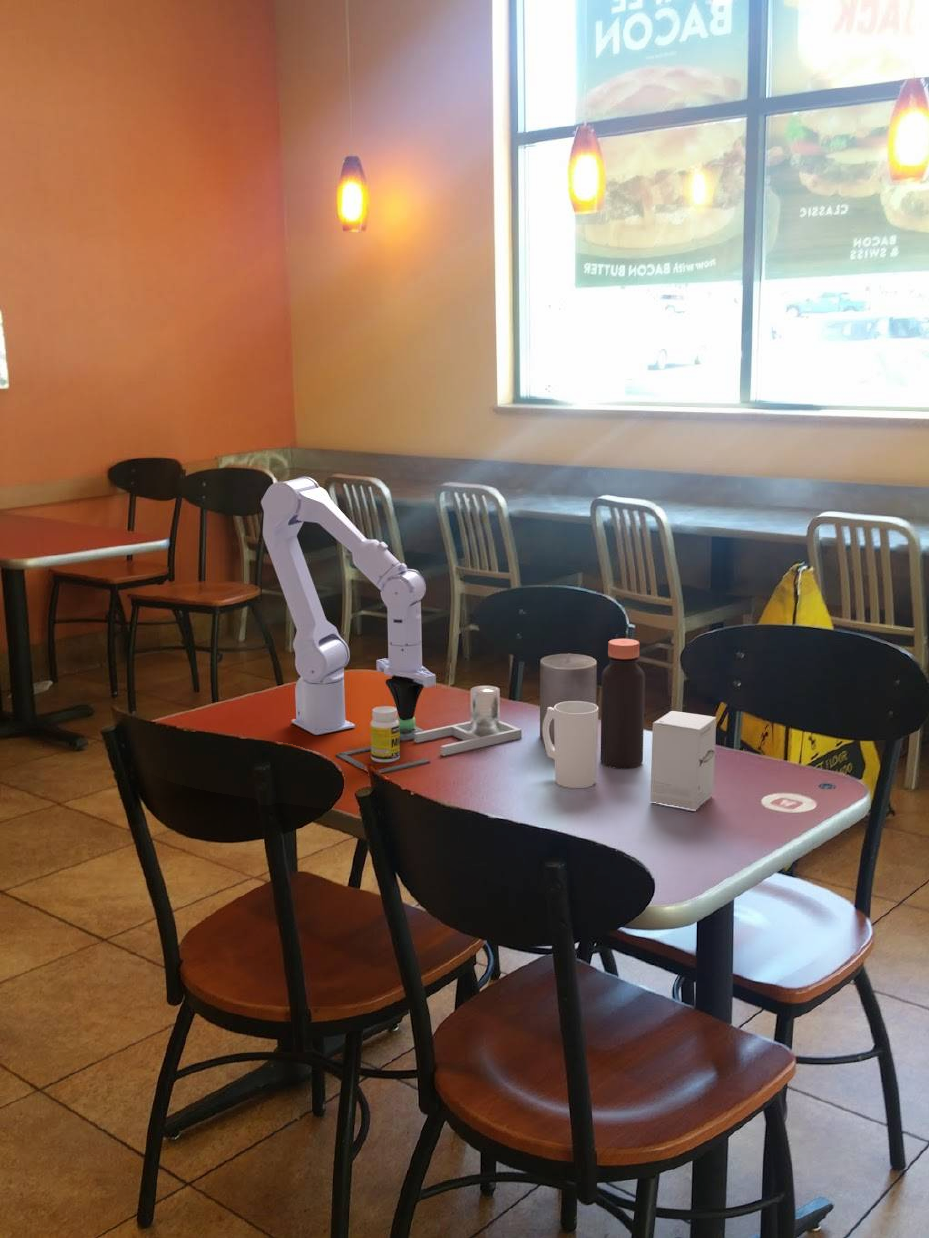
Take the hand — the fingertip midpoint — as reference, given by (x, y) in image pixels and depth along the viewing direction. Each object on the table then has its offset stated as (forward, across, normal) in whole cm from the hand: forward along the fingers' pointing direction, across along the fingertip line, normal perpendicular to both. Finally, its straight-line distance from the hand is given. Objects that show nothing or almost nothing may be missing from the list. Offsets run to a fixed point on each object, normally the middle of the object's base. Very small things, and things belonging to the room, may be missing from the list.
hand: (406, 718), depth 213 cm
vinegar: (+3, +34, +18) cm, 38 cm away
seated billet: (+3, +9, +10) cm, 14 cm away
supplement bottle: (+3, +7, -10) cm, 12 cm away
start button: (+3, 0, 0) cm, 3 cm away
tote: (+3, +7, -10) cm, 12 cm away
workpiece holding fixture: (+3, +8, +6) cm, 11 cm away
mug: (+3, +34, +6) cm, 34 cm away
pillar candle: (+3, +19, +20) cm, 28 cm away
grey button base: (+3, 0, 0) cm, 3 cm away
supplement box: (+3, +51, +13) cm, 53 cm away
